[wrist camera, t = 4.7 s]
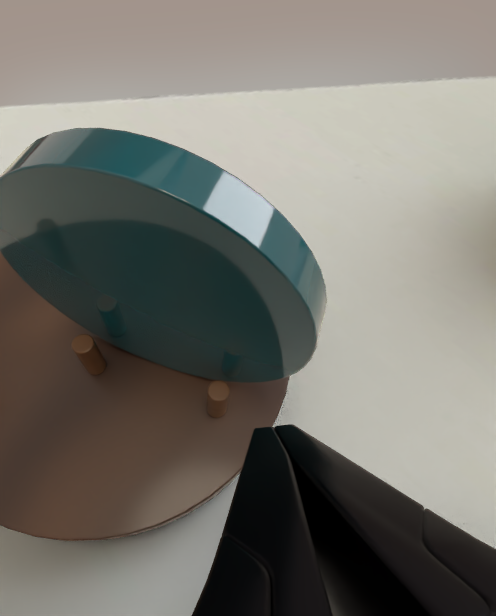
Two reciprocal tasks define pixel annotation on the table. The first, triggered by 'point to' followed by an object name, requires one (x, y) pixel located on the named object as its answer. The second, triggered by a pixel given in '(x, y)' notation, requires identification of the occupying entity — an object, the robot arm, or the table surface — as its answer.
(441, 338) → the table surface
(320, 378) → the table surface
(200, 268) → the dish rack
